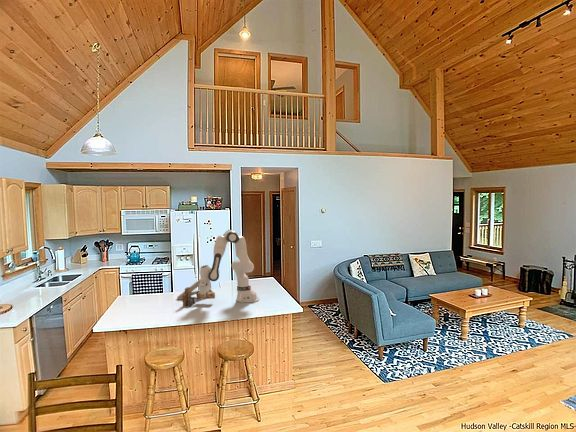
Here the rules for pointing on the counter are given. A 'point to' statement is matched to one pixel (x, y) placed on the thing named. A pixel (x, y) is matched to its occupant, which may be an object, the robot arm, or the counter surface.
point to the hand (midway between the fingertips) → (206, 296)
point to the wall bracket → (192, 289)
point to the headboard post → (188, 298)
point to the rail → (209, 294)
